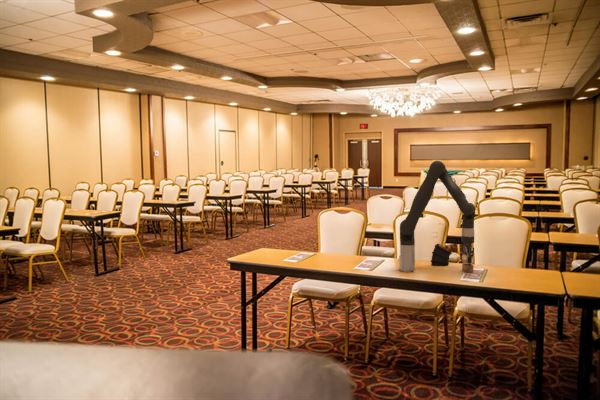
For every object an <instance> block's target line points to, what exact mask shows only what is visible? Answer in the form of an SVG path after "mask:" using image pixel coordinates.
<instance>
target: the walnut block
mask: <svg viewBox="0 0 600 400" xmlns="http://www.w3.org/2000/svg"><path fill="white" fill-rule="evenodd" d="M461 268H462V269H461V270H462V272H461V273H463V272H464V273H463V274H465V273H472V274H474V264H465V263H462V264H461Z"/></svg>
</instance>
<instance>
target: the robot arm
mask: <svg viewBox="0 0 600 400" xmlns="http://www.w3.org/2000/svg"><path fill="white" fill-rule="evenodd" d="M426 173H427V174H426V175H425V178H424V180H423V181H422V183H421V185H420V187H419V188H418V190H417V191H416V194H415V196H414V199H413V201H412V202H411V207H410V209H409V211H408V213H407V216H406V218H405V219H404V220H402V221H401V222H400V223H399V244H400V246H399V252H400V253H399V257H398V258H399V259H398V260H399V267H398V268H399V271H401V272H405V273H412V272H414V271H415V270H416V269H415V268H416V266H415V265H416V264H415V263H416V261H415V260H416V257H415V256H416V252H415V248H416V241H415V240H416V239H415V230H416V228H417V225H418V222H419V220H420V217H421V216H422V214H423V213H424V211H425V209H426V208H427V207H428V204H429V202H431V201H430V200H431V199H432V196H433V193H434V190H435V186H436V184H437V182H438V180H440V182H441V183H442V184H443V186H444V187H445V189H446V191H448V193H449V195H450V196H451V198H452V199H453V201H454V202H456V205H457V206H458V208H459V210H460V212H461V213H462V214H463V219H462V221H461V252H462V254H467V255H468V263H472V257H473V258H474V254H475V247H473V245H472V244H474V243H475V217H476V216H475V215H476V207H475V205H474V203H471V202H469V201H468V199H467V196H466V194H465V193H464V191H463V190H462V189H461V188H460V186H459V185H458V184H457V183H456V182H455V180H454V179H453V178H452V176H451V175H450V173H449V171H448V170H447V167H446V165H445V163H443V162H442V161H441V160H435V161H433V162H432V163H431V164H430V165H429V167H428V171H427V172H426ZM462 243H463V244H462ZM470 254H471V255H470Z"/></svg>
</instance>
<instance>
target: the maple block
mask: <svg viewBox="0 0 600 400" xmlns="http://www.w3.org/2000/svg"><path fill="white" fill-rule="evenodd" d="M470 255H471V254H470ZM461 259H462V264H472V265H474V256H473V257H472V263H468V255H467V254H463V253H462V258H461Z"/></svg>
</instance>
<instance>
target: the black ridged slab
mask: <svg viewBox="0 0 600 400" xmlns="http://www.w3.org/2000/svg"><path fill="white" fill-rule="evenodd" d="M452 253H453V251H452V250H450V249H449V248H447V247H446V246H443V245H441V244H440V243H436V244H435V245H434V248H433V251H432V252H431V254H432V255H431V259H430V262H431V266H432V267H449V265H450V263H449V260H450V257H451V255H452Z"/></svg>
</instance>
